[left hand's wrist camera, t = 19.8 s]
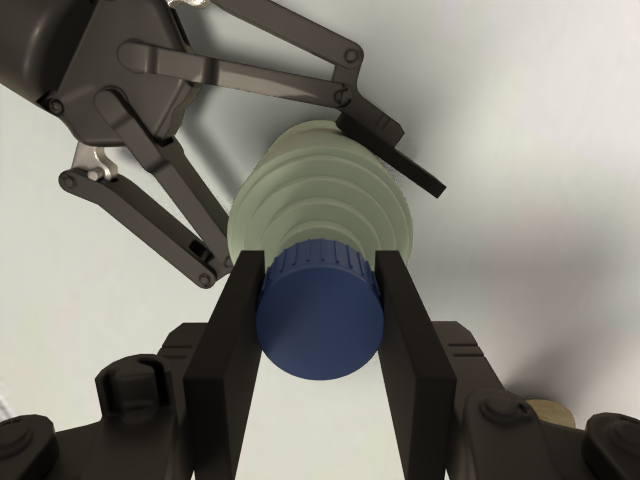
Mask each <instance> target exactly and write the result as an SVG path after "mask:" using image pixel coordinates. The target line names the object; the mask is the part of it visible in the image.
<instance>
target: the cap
mask: <svg viewBox="0 0 640 480" xmlns="http://www.w3.org/2000/svg"><path fill="white" fill-rule="evenodd" d="M380 297H381V294H380V290H379V287H378V283H377V279H376V276H375V272H374V271H372V270H371V268H370V265H369V262H368V260H367V261H366V260H365V259H364V258H363V257H362V256H361V254H360V252H359V251H358V252H357V251H355V250H354V249H353V248H351V247H350V245H348V244H347V245H346V244H343V243H340V242H337V240H335V241H333V240H328V239H324V238H321V239H312V240H311V239H308V240H306V241H302V242H299V243H298V242H296V243H295V244H294V245H292V246H291V247H289V248H287V249H286V248H285V249H284V250H283V252H282V253H281V254H280V255H279V256H278V257H275V258H274V261H273V263H272V264H271V266H270V267H269V266H268V268H267V271H266V275H265V278H264V281H263V285H262V288H261V292H260V295H259V299H258V307H257V311H256V328H257V339H258V342H259V344H260V346H261V348H262V350H263V352H264V353H265V354H266V356H267V357H268V358H269V359H270V360H271V361H272V362H273V363H274V364H275V365H276V366H277V367H279V368H280V369H282V370H283V371H285V372H287V373H289V374H291V375H294V376H297V377H299V378H304V379H308V380H331V379H336V378H340V377H343V376H346V375H349V374H351V373H353V372H355V371H356V370H358V369H360V368H361V367H362V366H364V365H365V364H366V363H367V362H368V361H369V360H370V359H371V358H372V357H373V355H374V354H375V353H376V351H377V350H378V348H379V346H380V344H381V341H382V338H383V323H384V312H383V308H382V304H381V301H380Z"/></svg>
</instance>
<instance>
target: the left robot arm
mask: <svg viewBox="0 0 640 480" xmlns="http://www.w3.org/2000/svg"><path fill="white" fill-rule="evenodd" d="M374 272H375V276H376V279H377V283H378V287H379V290H380V294H381V297H380V301H381V304H382V308H383V312H384V323H383V338H382V341H381V344H380V346H379V348H378V355H379V359H380V364H381V369H382V374H383V378H384V383H385V388H386V392H387V397H388V402H389V407H390V411H391V416H392V421H393V426H394V430H395V435H396V440H397V444H398V449H399V454H400V459H401V463H402V468H403V473H404V478H405V480H444V478H445V471H446V470H447V473H448V476H449V479H450V480H640V420H638V419H635V418H632V417H629V416H626V415H622V414H617V413H607V412H604V413H600V414H595V415H593V416H592V417H591V418H590V419H589V420H588V421H587V424H586V428H585V430H580V429H576V428H571V427H567V426H562V425H558V424H554V423H550V422H547V421H544V420H541V419H539V417H538V415H537V414H536V412H535V411H534V409H533V408H532V406H531V405H530V404H528V403H527V402H526V401H525V400H523V399H522V398H521V397H519V396H517V395H514V394H512V393H510V392H508V391H505V389H504V387H503V386H502V384H501V382H500V381H499V379H498V377H497V376H496V374H495V372H494V371H493V369H492V367H491V365H490V364H489V362H488V360H487V359H486V357H484V354H483V352H482V350H481V349H480V347H478V344H477V342H476V340H475V339H474V337H473V335H472V334H471V332H470V331H469V330H467V329H466V328H465V327H463V326H462V325H461V324H459V323H458V322H457V321H431V320H430V318H429V316H428V314H427V311H426V309H425V307H424V305H423V303H422V301H421V298H420V296H419V294H418V292H417V290H416V287H415V285H414V283H413V281H412V279H411V276H410V274H409V272H408V270H407V268H406V265H405V263H404V261H403V259H402V257H401V255H400V252H399V250H375V268H374ZM265 275H266V274H265V252H264V250H241V252H240V254H239V256H238V258H237V260H236V263H235V265H234V267H233V269H232V271H231V274H230V276H229V278H228V280H227V282H226V285H225V287H224V289H223V291H222V293H221V295H220V298H219V300H218V302H217V304H216V306H215V309H214V311H213V313H212V315H211V317H210V320H209V322H208V323H182V324H181V325H180V326H178V327H177V328H176V329H174V330H173V331H172V332H170V333H169V335H168V336H167V338H166V340H165V342H164V343H163V345H162V348H160V350H159V352H158V353H157V355H155V354H138V355H133V356H128V357H125V358H122V359H120V360H117V361H115V362H112V363H111V364H110V365H108V366H107V367H105V368H104V369H102V370H101V371H100V373H99V374H98V375H97V377H96V378H95V383H96V388H97V393H98V397H99V402H100V407H101V412H102V418H101V421H99V422H96V423H92V424H89V425H86V426H81V427H77V428H72V429H68V430H64V431H59V432H55V429H54V425H53V422H51V421H50V420H49V419H48V418H47V417H45V416H41V415H36V414H33V415H22V416H18V417H14V418H11V419H8V420H5V421H2V422H0V480H191V477H192V474H193V471H194V473H195V480H235V476H236V471H237V467H238V462H239V457H240V453H241V448H242V443H243V438H244V434H245V429H246V424H247V419H248V415H249V410H250V405H251V401H252V396H253V391H254V386H255V382H256V377H257V372H258V367H259V363H260V358H261V353H262V348H261V346H260V344H259V342H258V339H257V328H256V311H257V307H258V299H259V295H260V292H261V288H262V285H263V281H264V278H265Z"/></svg>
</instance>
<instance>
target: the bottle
mask: <svg viewBox="0 0 640 480" xmlns="http://www.w3.org/2000/svg"><path fill="white" fill-rule="evenodd" d="M321 238H324V239H328V240H333V241H335V240H337V242H340V243H343V244H346V245H347V244H348V245H350V247H351V248H353V249H354V250H355V251H357V252H358V251H359V252H360V254H361V256H362V257H363V258H364V259H365V260H366V261H367V260H368V262H369V265H370V268H371V270H372V271H374V268H375V250H399V252H400V255H401V257H402V259H403V261H404V263H405V265H407V262H408V259H409V257H410V252H411V247H412V239H413V228H412V219H411V215H410V210H409V208H408V205H407V202H406V200H405V198H404V196H403V194H402V192H401V190H400V188H399V187H398V186H397V184H396V183H395V181H394V180H393V179H392V177H391V176H390V175H389V173H388V172H387V170H386V169H385V168H384V166H383V165H382V164H381V162H380V161H379V159H378V158H377V157H376V155H375V154H374V153H372V152H371V151H370V150H368V149H367V148H365V147H364V146H363V145H361V144H360V143H358V142H357V141H355V140H354V139H353V138H351V137H350V136H348V135H347V134H346V133H344V132H343V131H341V130H340V129H338V128H337V126H336V123H335V122H334V121H328V120H312V121H306V122H303V123H299V124H297V125H295V126H293V127H291V128H289V129H288V130H286V131H285V132H284V133H283V134H281V135H280V136H279V137H278V138H277V139H276V140H275V141H274V143H273V144H272V146H271V147H270V148H269V150H268V151H267V152H266V154H265V155H264V157H263V158H262V159H261V161H260V162H259V163H258V165H257V166H256V168H255V169H254V170H253V172H252V173H251V174H250V176H249V177H248V179H247V180H246V181H245V183H244V184H243V186H242V187H241V189H240V190H239V192H238V194H237V196H236V198H235V200H234V202H233V205H232V208H231V211H230V214H229V219H228V227H227V240H228V248H229V253H230V257H231V260H232V262H233V265H235V263H236V260H237V258H238V256H239V254H240V252H241V250H264V252H265V274H266V271H267V268H268V266H269V267H270V266H271V264H272V263H273V261H274V258H275V257H278V256H279V255H280V254H281V253H282V252H283V250H284V249H285V248H286V249H287V248H289V247H291V246H292V245H294V244H295V243H296V242H298V243H299V242H302V241H306V240H308V239H311V240H312V239H321Z"/></svg>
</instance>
